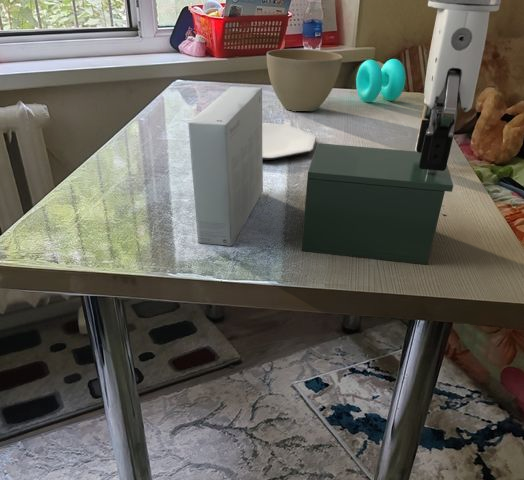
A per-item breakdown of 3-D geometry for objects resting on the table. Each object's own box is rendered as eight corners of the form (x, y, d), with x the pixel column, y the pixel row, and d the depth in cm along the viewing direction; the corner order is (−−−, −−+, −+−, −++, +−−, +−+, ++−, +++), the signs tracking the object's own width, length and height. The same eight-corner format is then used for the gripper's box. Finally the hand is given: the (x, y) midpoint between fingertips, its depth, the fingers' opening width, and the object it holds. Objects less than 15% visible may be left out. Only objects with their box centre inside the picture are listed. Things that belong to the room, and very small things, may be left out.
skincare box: (231, 189, 91) (231, 84, 81) (263, 192, 90) (266, 87, 80) (192, 243, 74) (186, 119, 65) (231, 247, 73) (231, 123, 64)
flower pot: (349, 114, 134) (356, 59, 126) (282, 119, 128) (285, 61, 121) (316, 98, 147) (320, 47, 140) (254, 102, 141) (255, 49, 134)
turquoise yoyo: (352, 97, 149) (357, 56, 143) (383, 96, 152) (389, 55, 146) (370, 106, 142) (376, 63, 136) (403, 104, 145) (410, 62, 139)
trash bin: (422, 226, 81) (436, 159, 75) (427, 264, 71) (444, 191, 65) (311, 214, 83) (317, 149, 77) (301, 251, 73) (307, 178, 67)
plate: (268, 124, 124) (268, 117, 123) (338, 152, 109) (339, 144, 108) (176, 138, 113) (176, 131, 112) (240, 172, 98) (240, 163, 97)
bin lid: (442, 159, 75) (451, 120, 72) (451, 192, 65) (462, 147, 62) (317, 148, 77) (320, 109, 74) (307, 178, 67) (310, 134, 64)
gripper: (517, 0, 52) (468, 187, 62) (489, -11, 65) (453, 144, 76) (436, -4, 52) (401, 180, 63) (425, -14, 66) (398, 139, 77)
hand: (430, 159), depth 70 cm, fingers closed on bin lid, 6 cm apart
